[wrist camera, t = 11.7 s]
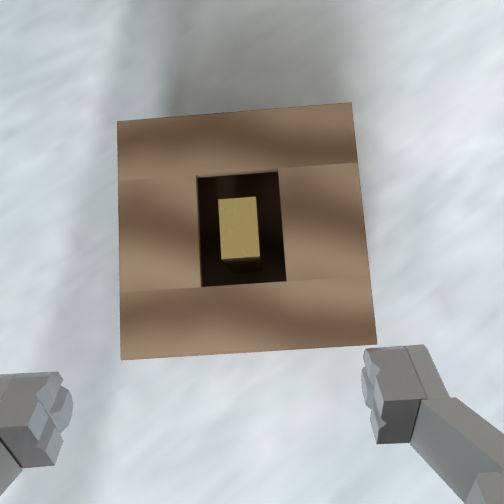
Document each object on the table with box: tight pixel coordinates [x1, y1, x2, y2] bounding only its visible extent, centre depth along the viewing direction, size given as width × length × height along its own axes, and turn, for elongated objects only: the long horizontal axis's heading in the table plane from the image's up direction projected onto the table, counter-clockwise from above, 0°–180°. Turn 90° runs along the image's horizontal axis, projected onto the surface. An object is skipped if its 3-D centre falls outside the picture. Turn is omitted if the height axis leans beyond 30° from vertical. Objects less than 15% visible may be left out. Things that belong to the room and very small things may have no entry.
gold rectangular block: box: [218, 197, 263, 274], centre depth 33 cm, size 4×2×9 cm, turn 4°
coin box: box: [117, 102, 377, 360], centre depth 33 cm, size 16×16×10 cm
